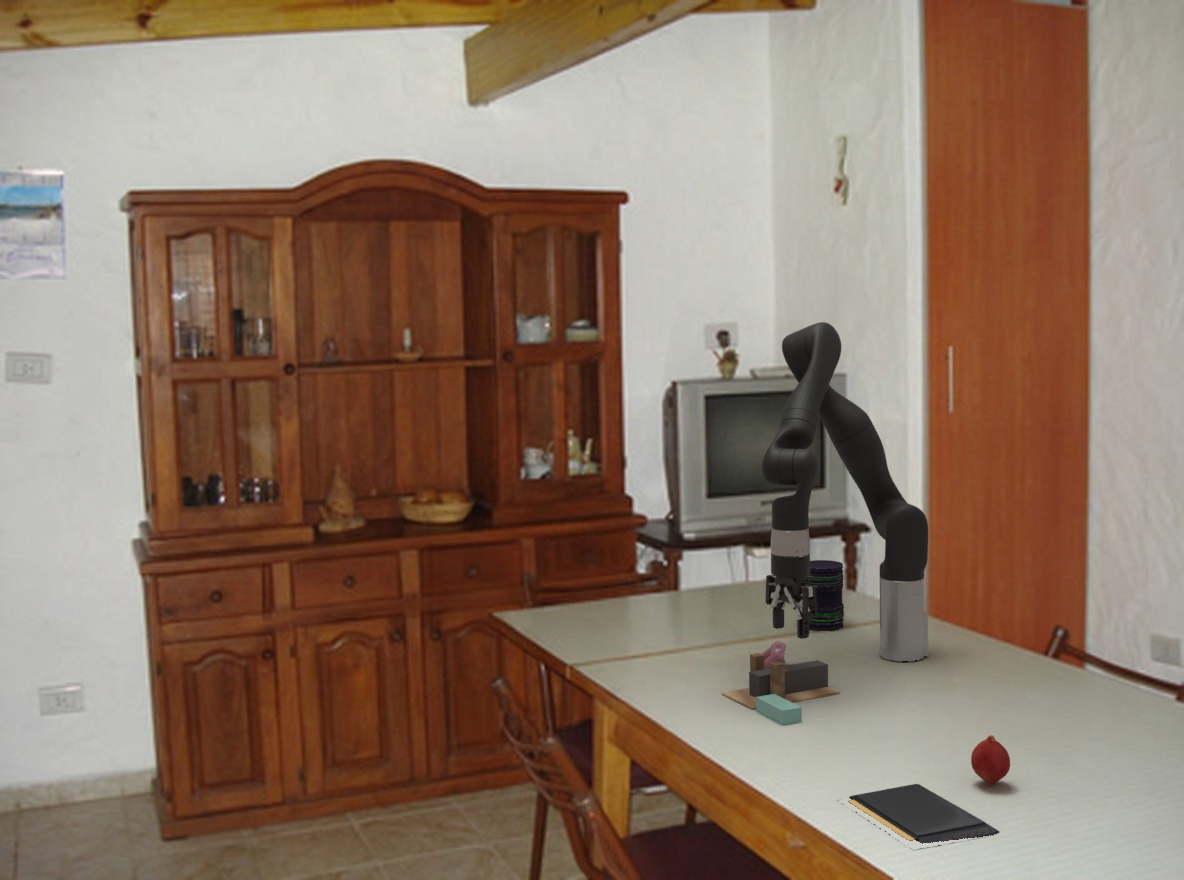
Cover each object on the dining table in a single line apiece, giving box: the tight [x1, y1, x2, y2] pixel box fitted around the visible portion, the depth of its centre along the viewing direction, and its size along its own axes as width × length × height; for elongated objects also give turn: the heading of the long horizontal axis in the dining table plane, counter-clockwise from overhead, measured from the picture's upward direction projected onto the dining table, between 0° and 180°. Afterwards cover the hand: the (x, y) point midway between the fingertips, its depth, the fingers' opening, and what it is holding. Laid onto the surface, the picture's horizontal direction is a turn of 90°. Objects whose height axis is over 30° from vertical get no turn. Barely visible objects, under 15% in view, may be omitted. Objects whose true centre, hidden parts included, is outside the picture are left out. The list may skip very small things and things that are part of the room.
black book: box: [848, 783, 1000, 844], centre depth 181 cm, size 20×2×15 cm
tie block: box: [755, 694, 803, 726], centre depth 227 cm, size 4×9×3 cm, turn 24°
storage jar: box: [801, 559, 845, 632], centre depth 291 cm, size 10×10×15 cm
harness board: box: [721, 652, 841, 711], centre depth 240 cm, size 20×11×7 cm, turn 115°
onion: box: [970, 734, 1011, 786], centre depth 192 cm, size 6×6×8 cm
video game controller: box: [761, 640, 787, 669], centre depth 258 cm, size 10×5×7 cm, turn 169°
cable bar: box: [748, 659, 829, 697], centre depth 241 cm, size 16×4×4 cm, turn 115°
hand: (790, 632), depth 241 cm, fingers open, 8 cm apart
